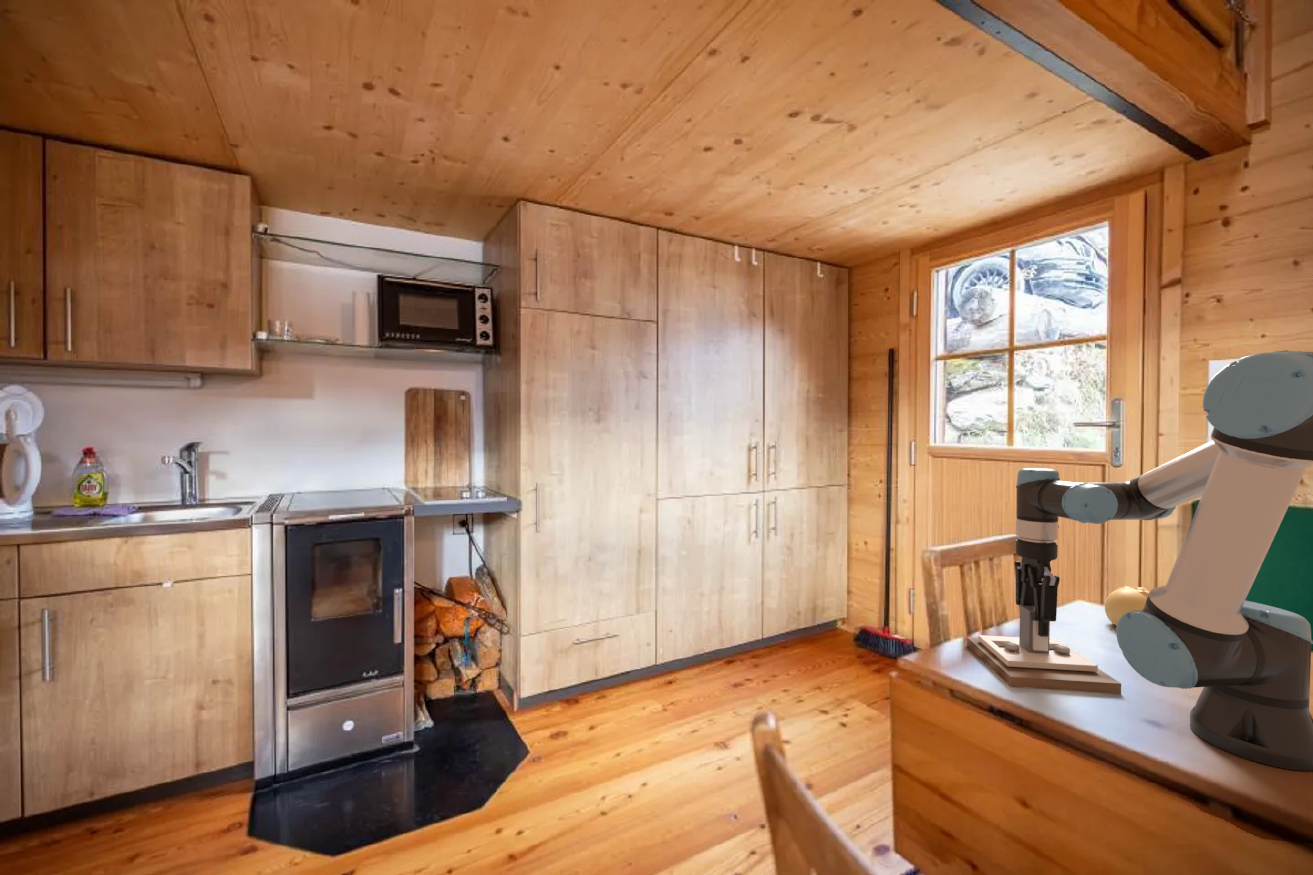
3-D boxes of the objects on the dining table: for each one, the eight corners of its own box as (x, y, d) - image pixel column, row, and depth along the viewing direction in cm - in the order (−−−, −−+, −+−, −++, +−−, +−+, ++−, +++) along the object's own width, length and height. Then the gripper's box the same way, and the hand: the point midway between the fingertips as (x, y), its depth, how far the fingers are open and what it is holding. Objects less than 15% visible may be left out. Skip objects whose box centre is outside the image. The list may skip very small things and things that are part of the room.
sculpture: (1177, 634, 138) (1178, 592, 138) (1139, 638, 136) (1140, 595, 136) (1129, 618, 150) (1130, 579, 149) (1093, 622, 147) (1094, 582, 147)
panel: (1097, 671, 112) (1098, 622, 112) (1007, 666, 114) (1008, 617, 114) (1057, 644, 126) (1058, 600, 126) (978, 640, 128) (978, 596, 128)
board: (1121, 693, 108) (1121, 670, 107) (1010, 686, 110) (1011, 663, 110) (1058, 650, 128) (1058, 630, 128) (966, 645, 131) (967, 626, 131)
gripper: (1079, 548, 111) (1077, 663, 111) (1033, 532, 127) (1031, 631, 128) (1039, 547, 112) (1037, 660, 112) (999, 531, 129) (997, 629, 129)
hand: (1034, 645), depth 120 cm, fingers closed on panel, 4 cm apart
